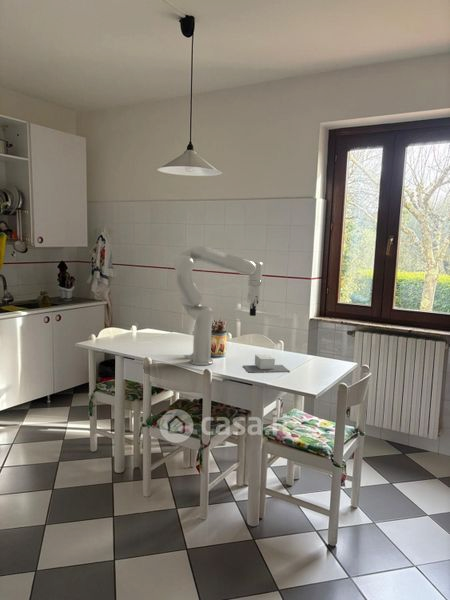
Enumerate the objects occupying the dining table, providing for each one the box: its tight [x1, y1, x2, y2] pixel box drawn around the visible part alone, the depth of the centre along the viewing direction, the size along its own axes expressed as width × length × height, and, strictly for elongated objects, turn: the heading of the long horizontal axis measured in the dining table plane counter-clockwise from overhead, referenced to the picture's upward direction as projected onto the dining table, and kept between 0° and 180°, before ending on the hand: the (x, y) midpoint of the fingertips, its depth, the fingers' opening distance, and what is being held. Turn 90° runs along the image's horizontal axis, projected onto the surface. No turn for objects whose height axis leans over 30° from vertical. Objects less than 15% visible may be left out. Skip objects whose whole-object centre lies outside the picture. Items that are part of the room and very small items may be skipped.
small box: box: [254, 353, 276, 369], centre depth 238 cm, size 8×6×10 cm
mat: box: [242, 364, 291, 374], centre depth 235 cm, size 22×12×1 cm, turn 102°
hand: (252, 315), depth 254 cm, fingers closed
